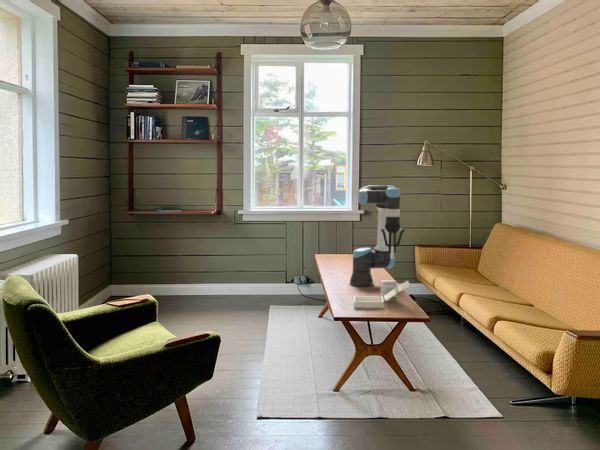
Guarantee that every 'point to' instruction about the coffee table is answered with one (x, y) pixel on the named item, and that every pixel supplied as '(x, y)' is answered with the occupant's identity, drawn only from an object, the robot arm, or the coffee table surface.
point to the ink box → (388, 288)
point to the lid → (396, 290)
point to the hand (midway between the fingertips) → (391, 258)
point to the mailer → (368, 302)
